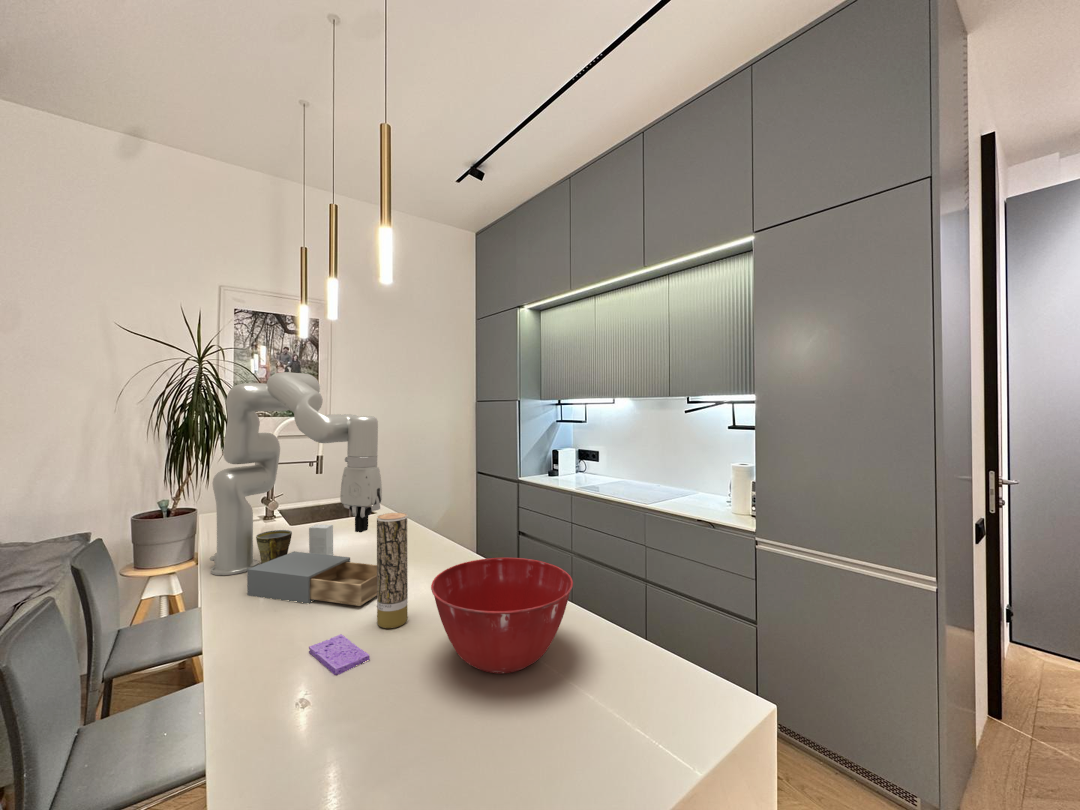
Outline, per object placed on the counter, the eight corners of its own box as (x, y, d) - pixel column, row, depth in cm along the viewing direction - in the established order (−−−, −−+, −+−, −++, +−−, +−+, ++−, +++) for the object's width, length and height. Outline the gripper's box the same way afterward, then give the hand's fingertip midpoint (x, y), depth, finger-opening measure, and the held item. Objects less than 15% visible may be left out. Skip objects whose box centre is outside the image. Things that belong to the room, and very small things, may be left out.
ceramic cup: (258, 562, 152) (258, 531, 152) (292, 558, 156) (292, 528, 156) (252, 575, 140) (252, 542, 140) (290, 570, 144) (290, 538, 144)
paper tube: (398, 631, 105) (398, 520, 105) (371, 628, 107) (370, 518, 107) (412, 617, 112) (412, 513, 112) (386, 615, 113) (386, 512, 113)
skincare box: (333, 561, 153) (333, 524, 153) (326, 565, 149) (326, 527, 149) (316, 560, 154) (316, 524, 154) (308, 564, 150) (308, 527, 150)
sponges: (341, 642, 101) (341, 633, 101) (370, 663, 93) (370, 653, 93) (308, 655, 96) (308, 645, 96) (335, 678, 88) (335, 668, 88)
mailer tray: (298, 597, 122) (298, 577, 122) (336, 578, 135) (336, 560, 135) (359, 605, 116) (359, 585, 116) (393, 585, 130) (393, 566, 130)
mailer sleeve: (247, 595, 126) (247, 569, 126) (294, 574, 141) (294, 551, 141) (308, 604, 120) (308, 576, 120) (350, 581, 135) (350, 557, 135)
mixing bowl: (596, 642, 100) (595, 570, 100) (524, 719, 75) (523, 623, 75) (489, 613, 114) (489, 549, 114) (400, 670, 90) (399, 589, 90)
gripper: (329, 462, 123) (328, 532, 123) (377, 465, 119) (376, 537, 119) (348, 459, 130) (347, 524, 131) (395, 462, 126) (394, 530, 126)
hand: (361, 530), depth 125 cm, fingers closed
